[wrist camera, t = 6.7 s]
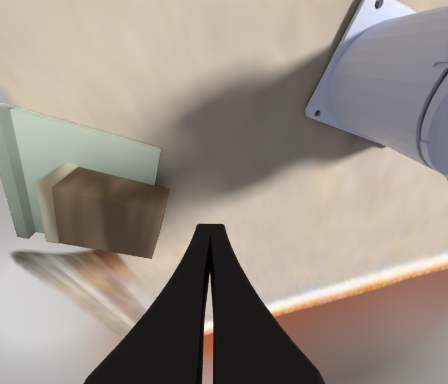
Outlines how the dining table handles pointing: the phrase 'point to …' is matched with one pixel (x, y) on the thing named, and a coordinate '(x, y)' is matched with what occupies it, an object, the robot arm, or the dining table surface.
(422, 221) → the dining table surface
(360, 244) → the dining table surface
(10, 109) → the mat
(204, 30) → the dining table surface
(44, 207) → the walnut block
